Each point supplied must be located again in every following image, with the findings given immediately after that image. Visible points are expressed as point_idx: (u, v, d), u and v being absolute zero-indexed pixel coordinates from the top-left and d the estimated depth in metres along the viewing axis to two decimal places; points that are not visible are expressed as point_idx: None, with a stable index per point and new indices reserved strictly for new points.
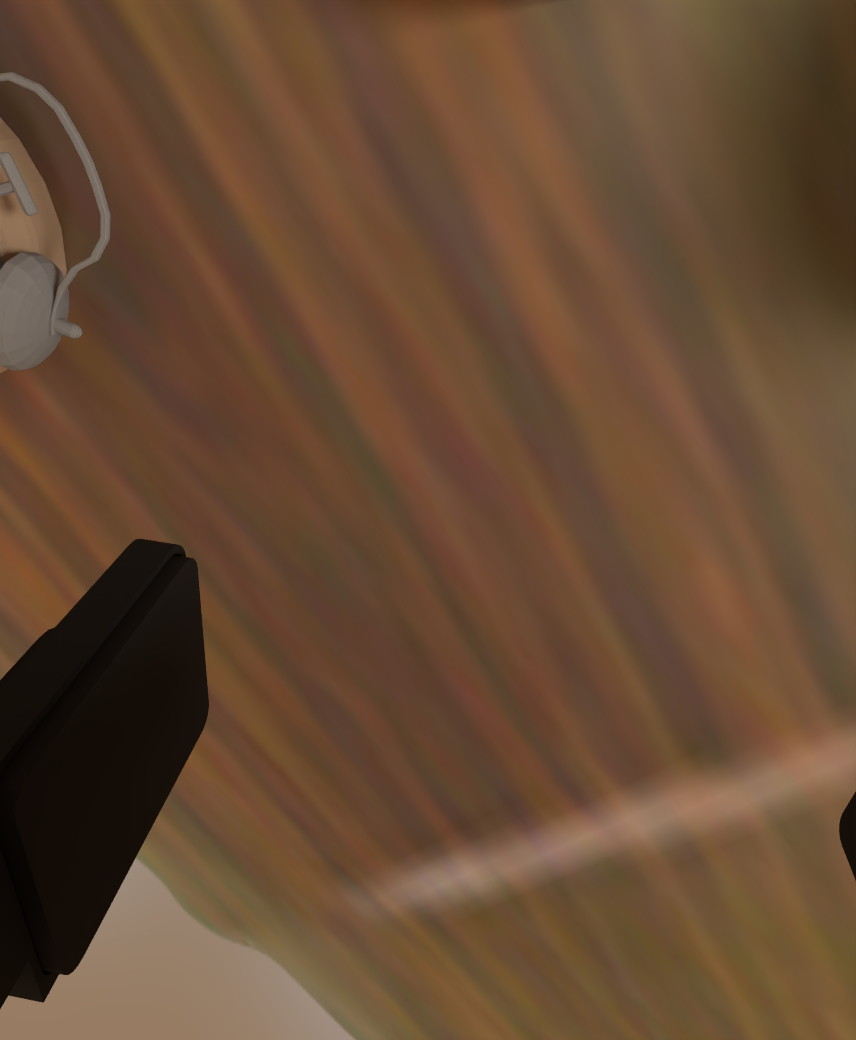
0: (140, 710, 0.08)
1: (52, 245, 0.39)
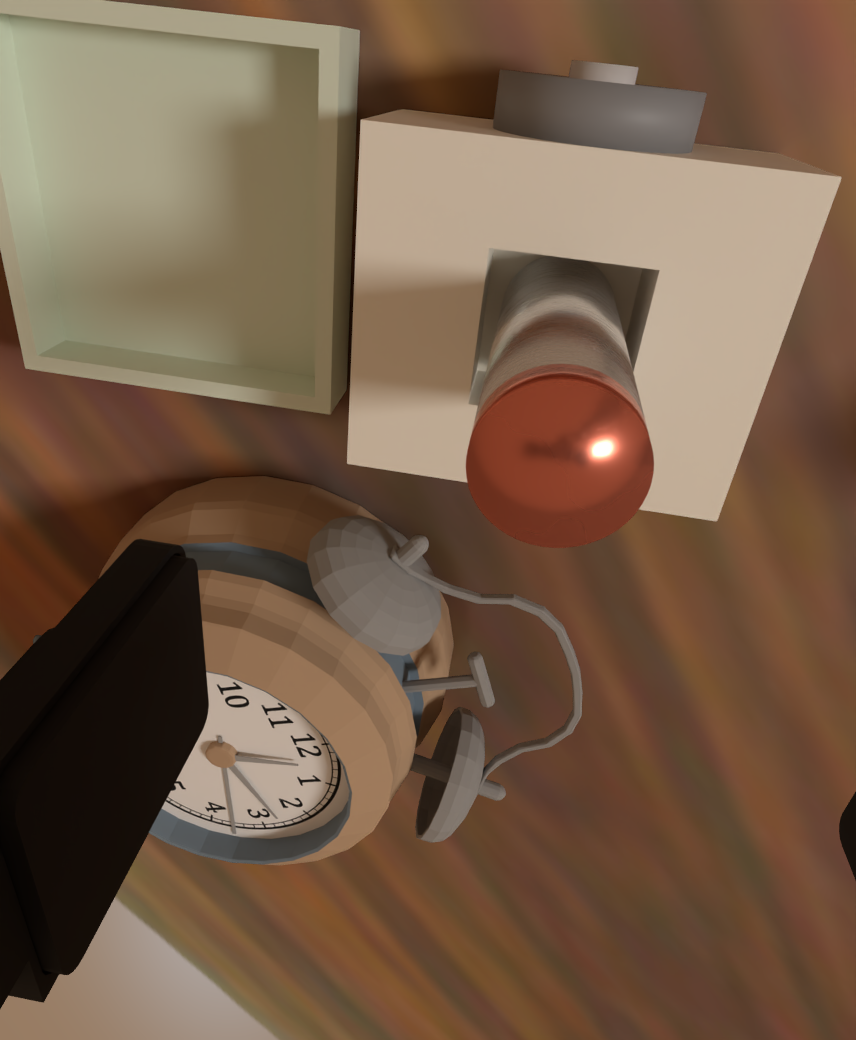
0: (140, 710, 0.08)
1: None
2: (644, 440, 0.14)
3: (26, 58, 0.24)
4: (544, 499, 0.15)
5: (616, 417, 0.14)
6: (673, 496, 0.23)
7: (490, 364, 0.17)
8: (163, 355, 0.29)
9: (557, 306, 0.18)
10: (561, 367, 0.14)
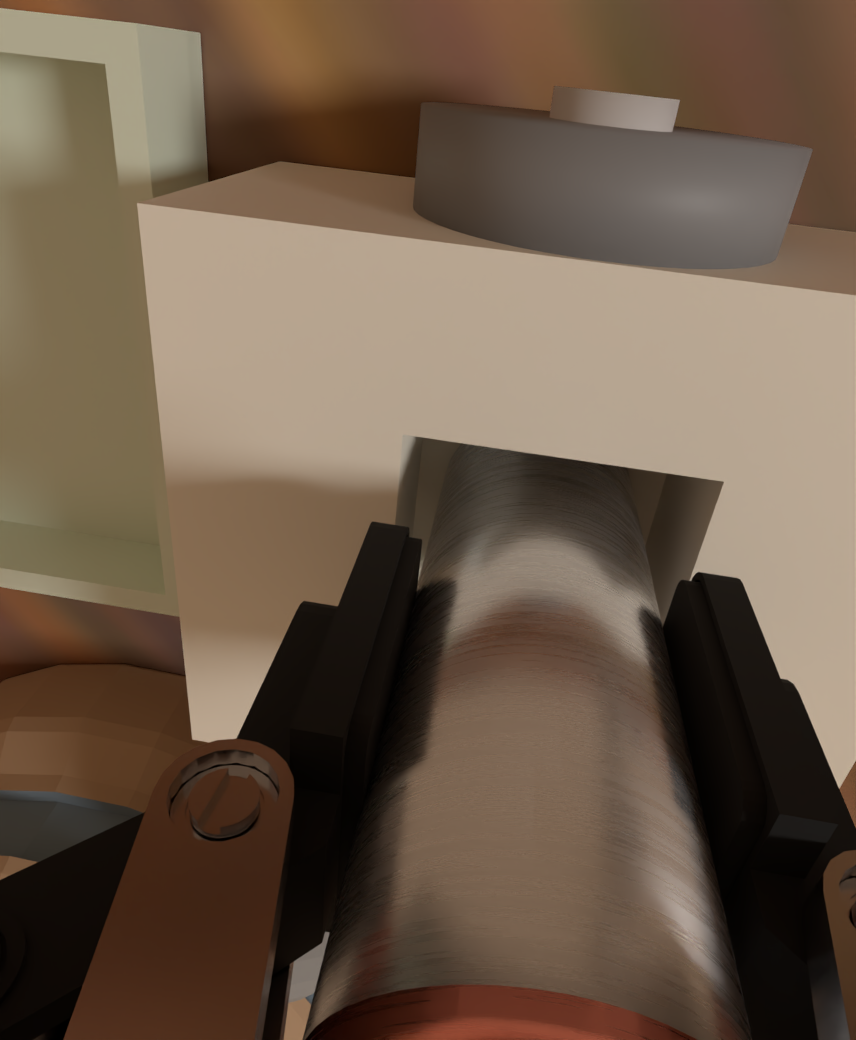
0: None
1: None
2: None
3: None
4: None
5: None
6: None
7: (379, 756, 0.08)
8: None
9: (527, 608, 0.08)
10: (526, 1016, 0.05)
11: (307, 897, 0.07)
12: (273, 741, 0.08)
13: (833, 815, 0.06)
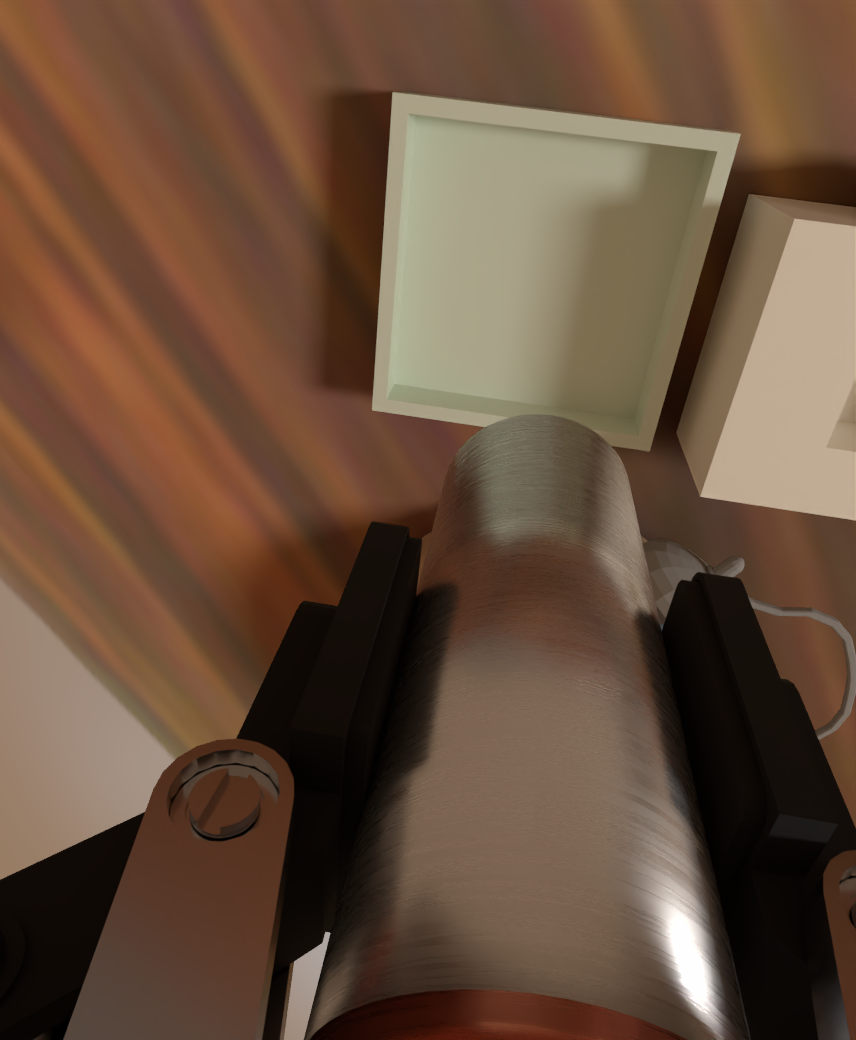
0: (395, 674, 0.09)
1: None
2: None
3: (422, 148, 0.28)
4: None
5: None
6: None
7: (379, 760, 0.08)
8: (485, 397, 0.33)
9: (526, 613, 0.08)
10: (526, 1020, 0.05)
11: (307, 897, 0.07)
12: (273, 741, 0.08)
13: (833, 815, 0.06)
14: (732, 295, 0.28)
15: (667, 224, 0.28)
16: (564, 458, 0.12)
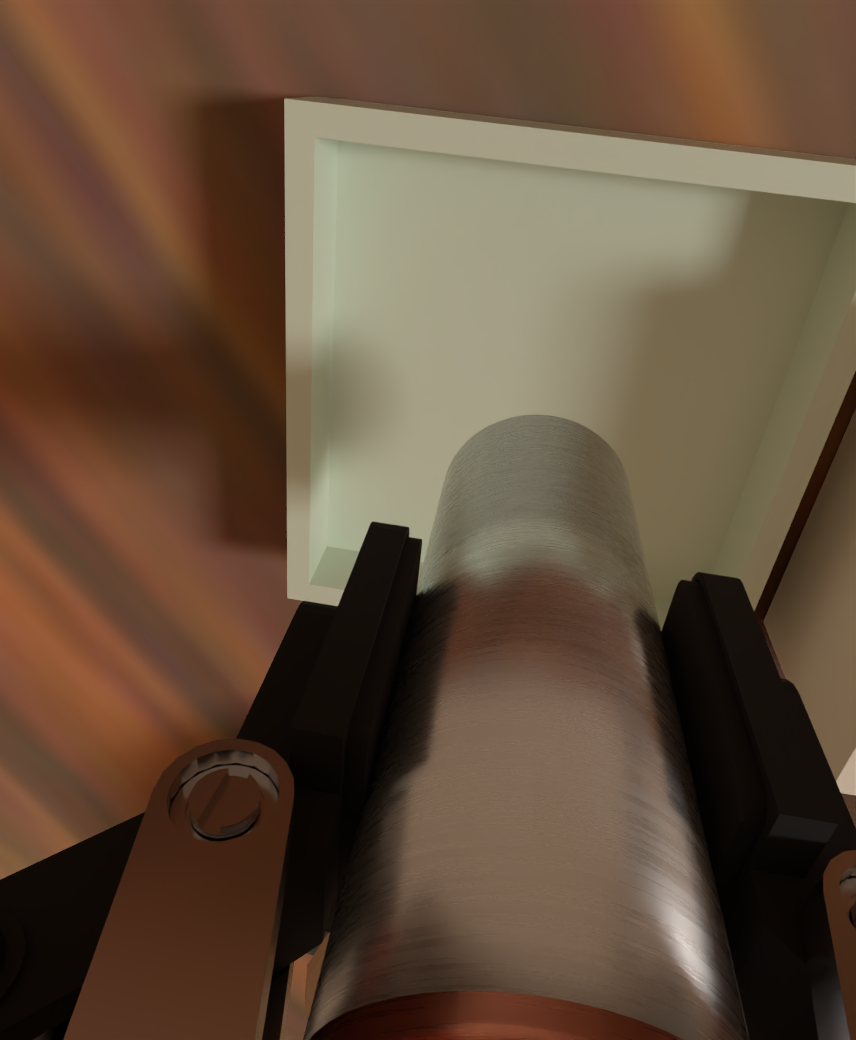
0: (396, 674, 0.09)
1: None
2: None
3: (353, 193, 0.16)
4: None
5: None
6: None
7: (378, 761, 0.08)
8: None
9: (526, 614, 0.08)
10: (524, 1022, 0.05)
11: (307, 897, 0.07)
12: (273, 741, 0.08)
13: (833, 815, 0.06)
14: None
15: (772, 321, 0.17)
16: (564, 459, 0.12)
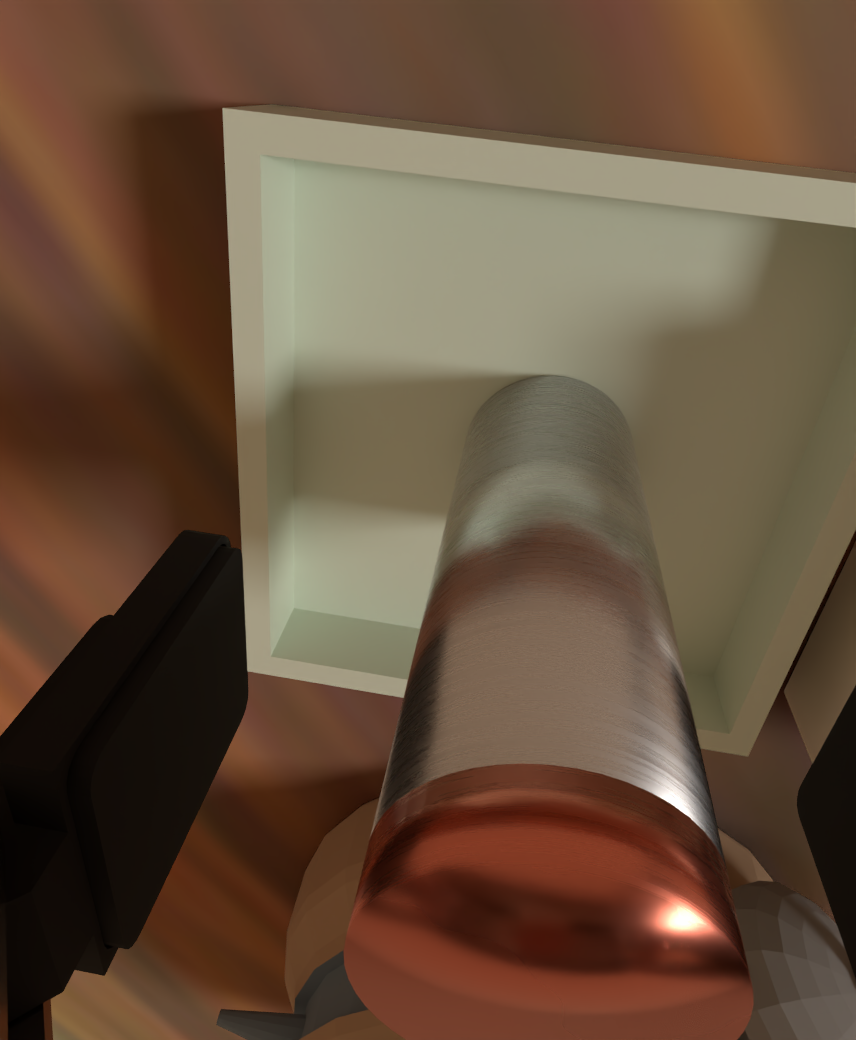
0: (192, 695, 0.08)
1: None
2: (734, 970, 0.06)
3: (312, 217, 0.14)
4: (512, 1024, 0.07)
5: (671, 932, 0.06)
6: None
7: (421, 642, 0.09)
8: None
9: (542, 526, 0.10)
10: (545, 780, 0.06)
11: (21, 946, 0.06)
12: None
13: None
14: None
15: (800, 365, 0.14)
16: (574, 410, 0.13)
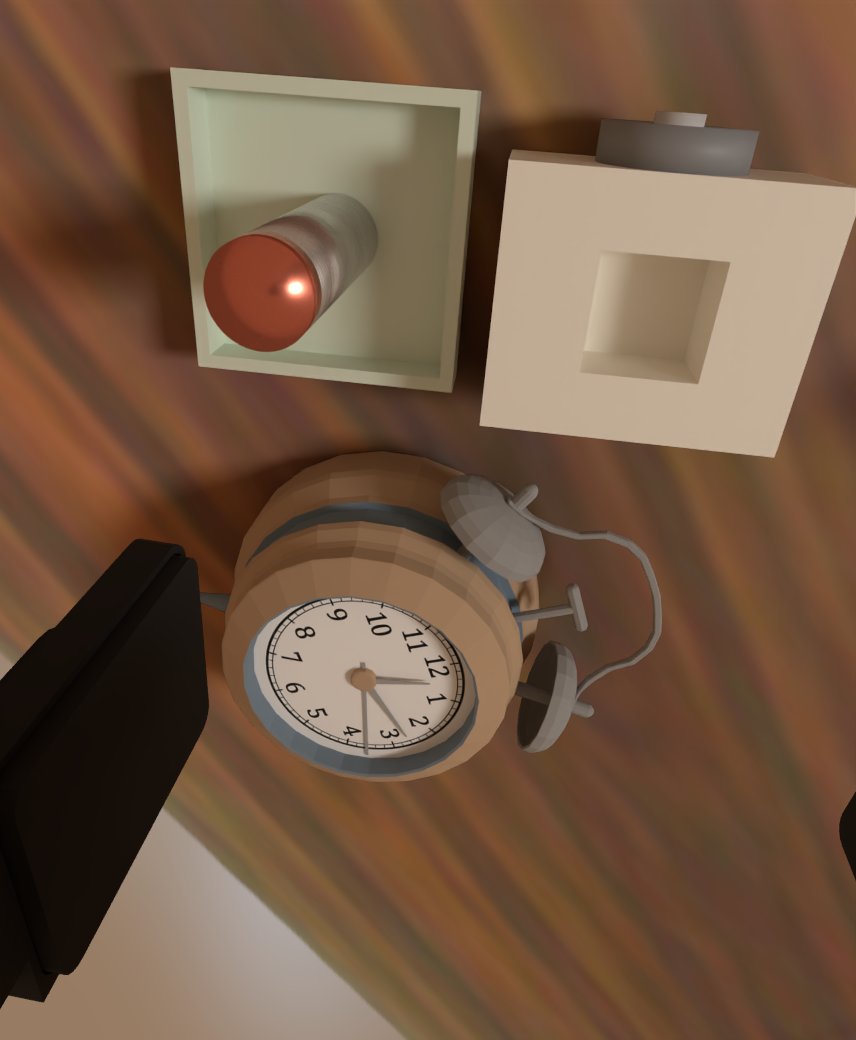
0: (140, 710, 0.08)
1: None
2: (302, 271, 0.23)
3: (216, 120, 0.31)
4: (255, 317, 0.24)
5: (282, 257, 0.23)
6: (740, 438, 0.29)
7: None
8: (307, 352, 0.35)
9: (291, 213, 0.27)
10: (255, 232, 0.23)
11: None
12: None
13: None
14: None
15: (442, 180, 0.31)
16: (332, 199, 0.30)
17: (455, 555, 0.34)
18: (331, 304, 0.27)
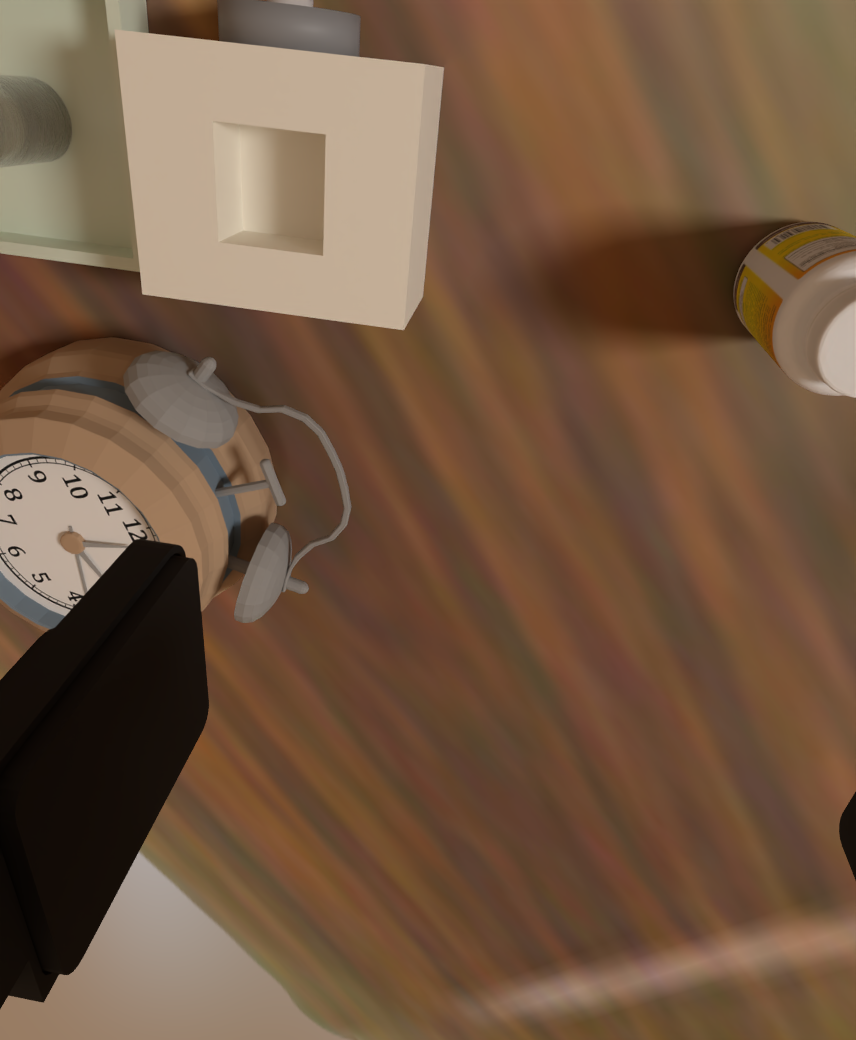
0: (140, 710, 0.08)
1: (272, 499, 0.44)
2: None
3: None
4: None
5: None
6: (370, 310, 0.32)
7: None
8: (26, 235, 0.38)
9: None
10: None
11: None
12: None
13: None
14: None
15: None
16: (9, 76, 0.33)
17: (145, 424, 0.36)
18: None
